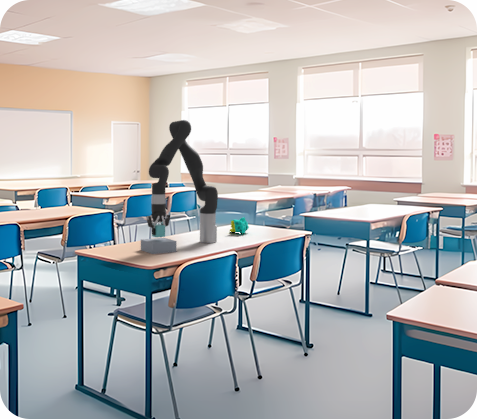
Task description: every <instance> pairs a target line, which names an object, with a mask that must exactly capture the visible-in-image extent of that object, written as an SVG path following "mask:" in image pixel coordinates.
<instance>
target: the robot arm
mask: <svg viewBox="0 0 477 419" xmlns="http://www.w3.org/2000/svg"><path fill="white" fill-rule="evenodd" d="M168 130H169V133H170V135H171V138H172V139H171V140H170V141H169V142H168V143H167V144H166V145H165V146H164V147H163V148H162V151H161V152H160V154H159V156H158V157H157V158H156V159H155V160H154V161H153V162H152V163H151V164H150V166H149V168H148V175H149V177H150V178H151V179H152V178H153V179H158V181H157V182H154V183H152V185H151V199H150V200H151V206H150V207H151V210H150V211H151V214H150V215H147V216H146V222H147V227H148V228H151V236H152V235H156V228H155V227H156V225H158V223H159V224H161V225H165V228H166V227H168V226H169V225H170V221H171V220H170V219H171V215H170V214H167V213H166V211H167V208H166V206H167V201H166V200H167V197H166V187H167V182H168V179H169V173H170V171H169V167H168V166H170V165H171V163H172V161H173V159H174V158H175V155H176V153H177V152H178V151H179V153H180V155H181V157H182V159H183V161H184V164H185V167H186V169H187V170H188V172H189V176H190V178H191V180H192V182H193V185H194V188H195V192H196V195H197V197H198V199H199V200H200V201H202V202H204V205H203V206H202V207H201V208H200V209H199V243H202V244H210V243H211V244H212V243H216V242H217V240H218V239H217V236H218V232H217V231H218V226H217V225H216V224H217V223H216V221H217V220H216V219H217V218H216V217H217V216H216V214H217V212H216V210H217V208H218V202H219V201H218V198H219V197H218V196H219V194H218V190H217V188H216V187H215V186H212V185H207V184H206V181H205V180H204V175H203V173H204V165H203V161H202V159H201V156H200V154H199V153H198V152H197V151H196V150H195V149H194V148H193V147H192V146H191V145H190V144H189V143H188V142H187V138H188V137H189V135H190V134H191V132H192V126H191V123H190V122H189V120H185V119H183V120H175V121H172V122H170V124H169V127H168Z"/></svg>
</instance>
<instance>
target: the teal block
mask: <svg viewBox="0 0 477 419" xmlns="http://www.w3.org/2000/svg"><path fill="white" fill-rule="evenodd" d="M155 228H156V235H152V234H151V237H155V238H166V227H165V225H161V223H159V224H158V223H157V224H156V227H155Z"/></svg>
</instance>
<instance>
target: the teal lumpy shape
mask: <svg viewBox="0 0 477 419" xmlns="http://www.w3.org/2000/svg"><path fill="white" fill-rule="evenodd" d="M249 228H250V226H249V222H248V221H247V220H246V218H245V216H244V217H241V218H239V219H231V220H230V229H229V232H230V231H231V232H240V233H244V234H245V233H246V232H247V231H248V229H249Z"/></svg>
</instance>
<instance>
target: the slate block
mask: <svg viewBox="0 0 477 419" xmlns="http://www.w3.org/2000/svg"><path fill="white" fill-rule="evenodd" d="M140 251H143V252H146V253H148V254H151V255H157V254H166V253H168V254H169V253H176V252H177V240H174V239H171V238H166V237H155V238H143V239H140Z"/></svg>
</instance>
